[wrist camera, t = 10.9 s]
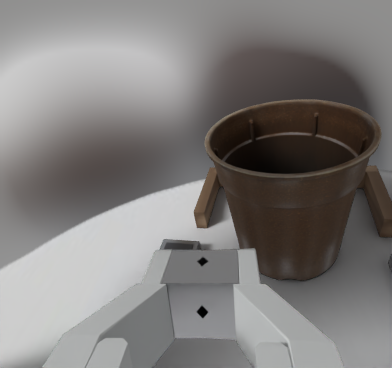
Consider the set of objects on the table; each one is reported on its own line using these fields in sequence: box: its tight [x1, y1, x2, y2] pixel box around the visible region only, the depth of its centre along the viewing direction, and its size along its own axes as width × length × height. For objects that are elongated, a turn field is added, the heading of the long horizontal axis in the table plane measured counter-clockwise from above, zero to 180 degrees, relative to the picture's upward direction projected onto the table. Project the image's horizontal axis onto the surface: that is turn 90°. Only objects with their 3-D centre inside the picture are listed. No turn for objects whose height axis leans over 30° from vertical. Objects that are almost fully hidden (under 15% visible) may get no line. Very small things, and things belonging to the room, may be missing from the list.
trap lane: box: [159, 166, 392, 272], centre depth 38 cm, size 32×26×3 cm
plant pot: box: [205, 100, 381, 281], centre depth 34 cm, size 16×16×16 cm
